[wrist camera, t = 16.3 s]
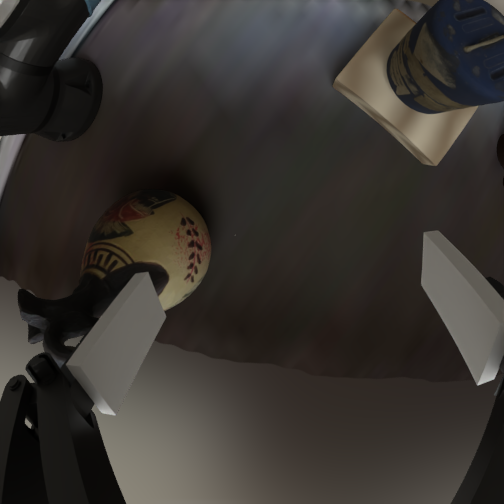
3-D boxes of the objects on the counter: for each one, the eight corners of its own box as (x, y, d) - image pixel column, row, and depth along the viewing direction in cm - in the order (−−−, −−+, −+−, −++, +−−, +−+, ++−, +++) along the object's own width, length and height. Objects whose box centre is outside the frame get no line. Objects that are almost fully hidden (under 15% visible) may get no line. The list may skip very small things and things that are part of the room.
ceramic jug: (131, 267, 50) (2, 370, 22) (136, 175, 44) (-35, 226, 16) (226, 292, 48) (138, 449, 20) (242, 194, 42) (121, 286, 14)
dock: (332, 86, 35) (335, 78, 31) (387, 20, 30) (396, 6, 25) (422, 163, 36) (436, 166, 32) (471, 95, 31) (488, 90, 26)
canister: (372, 48, 28) (417, -21, 12) (437, 41, 26) (508, -11, 9) (397, 121, 31) (470, 103, 14) (461, 111, 28) (552, 98, 12)
